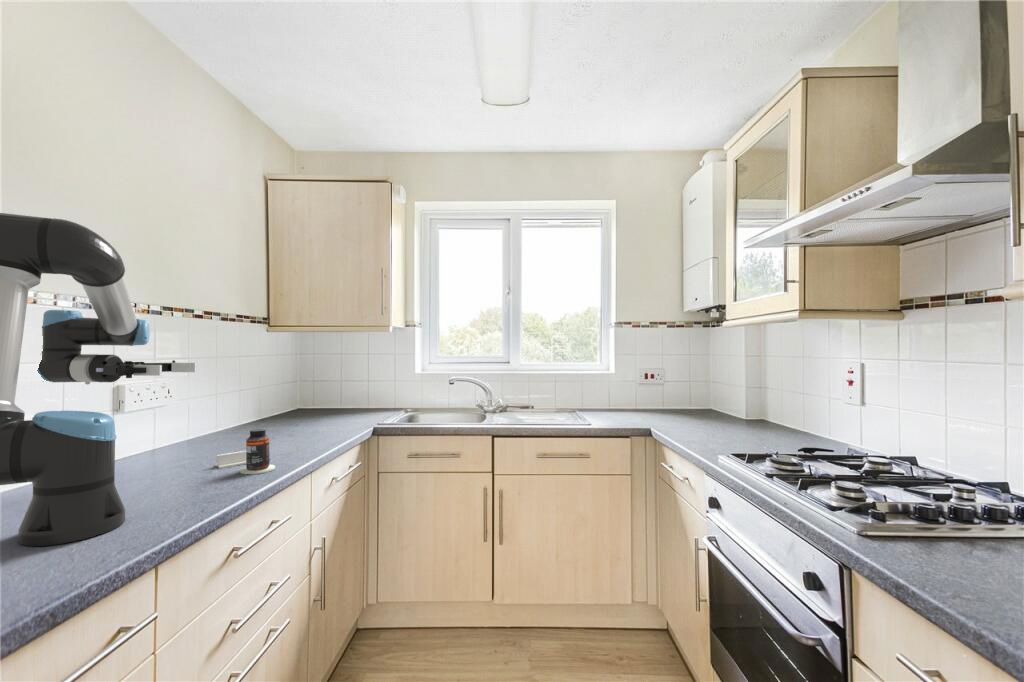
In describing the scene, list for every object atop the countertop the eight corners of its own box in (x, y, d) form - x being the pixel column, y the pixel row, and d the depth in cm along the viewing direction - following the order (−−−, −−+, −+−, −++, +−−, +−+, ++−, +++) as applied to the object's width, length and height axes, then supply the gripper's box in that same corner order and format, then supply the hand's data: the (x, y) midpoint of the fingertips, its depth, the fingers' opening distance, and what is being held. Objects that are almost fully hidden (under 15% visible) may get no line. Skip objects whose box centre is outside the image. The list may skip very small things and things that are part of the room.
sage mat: (280, 469, 132) (280, 468, 132) (246, 476, 125) (246, 474, 125) (268, 464, 138) (268, 462, 138) (235, 470, 131) (235, 468, 131)
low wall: (270, 459, 143) (270, 448, 143) (219, 468, 133) (219, 456, 133) (264, 457, 146) (264, 446, 146) (214, 465, 136) (214, 454, 136)
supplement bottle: (267, 464, 136) (267, 426, 136) (271, 468, 131) (271, 429, 131) (244, 467, 132) (244, 429, 132) (247, 472, 127) (248, 432, 128)
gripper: (135, 378, 134) (208, 378, 135) (53, 386, 109) (143, 386, 110) (135, 353, 134) (208, 354, 135) (53, 355, 110) (143, 356, 110)
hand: (179, 368), depth 123 cm, fingers open, 13 cm apart
